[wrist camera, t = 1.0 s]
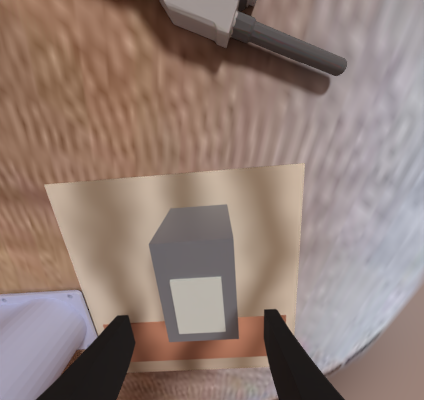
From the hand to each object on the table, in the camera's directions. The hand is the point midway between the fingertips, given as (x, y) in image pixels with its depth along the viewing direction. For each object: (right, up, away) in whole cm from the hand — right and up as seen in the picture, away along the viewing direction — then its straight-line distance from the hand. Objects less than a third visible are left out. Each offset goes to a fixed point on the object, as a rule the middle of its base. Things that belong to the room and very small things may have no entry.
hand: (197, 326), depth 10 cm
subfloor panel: (-2, -2, +10) cm, 10 cm away
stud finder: (0, +2, +8) cm, 8 cm away
